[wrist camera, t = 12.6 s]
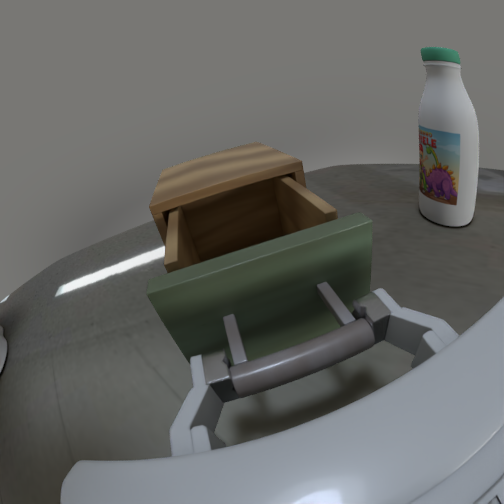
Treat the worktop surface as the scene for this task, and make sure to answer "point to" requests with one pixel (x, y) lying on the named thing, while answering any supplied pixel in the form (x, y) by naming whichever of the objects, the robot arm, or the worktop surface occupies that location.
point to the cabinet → (219, 177)
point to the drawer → (265, 282)
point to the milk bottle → (447, 142)
